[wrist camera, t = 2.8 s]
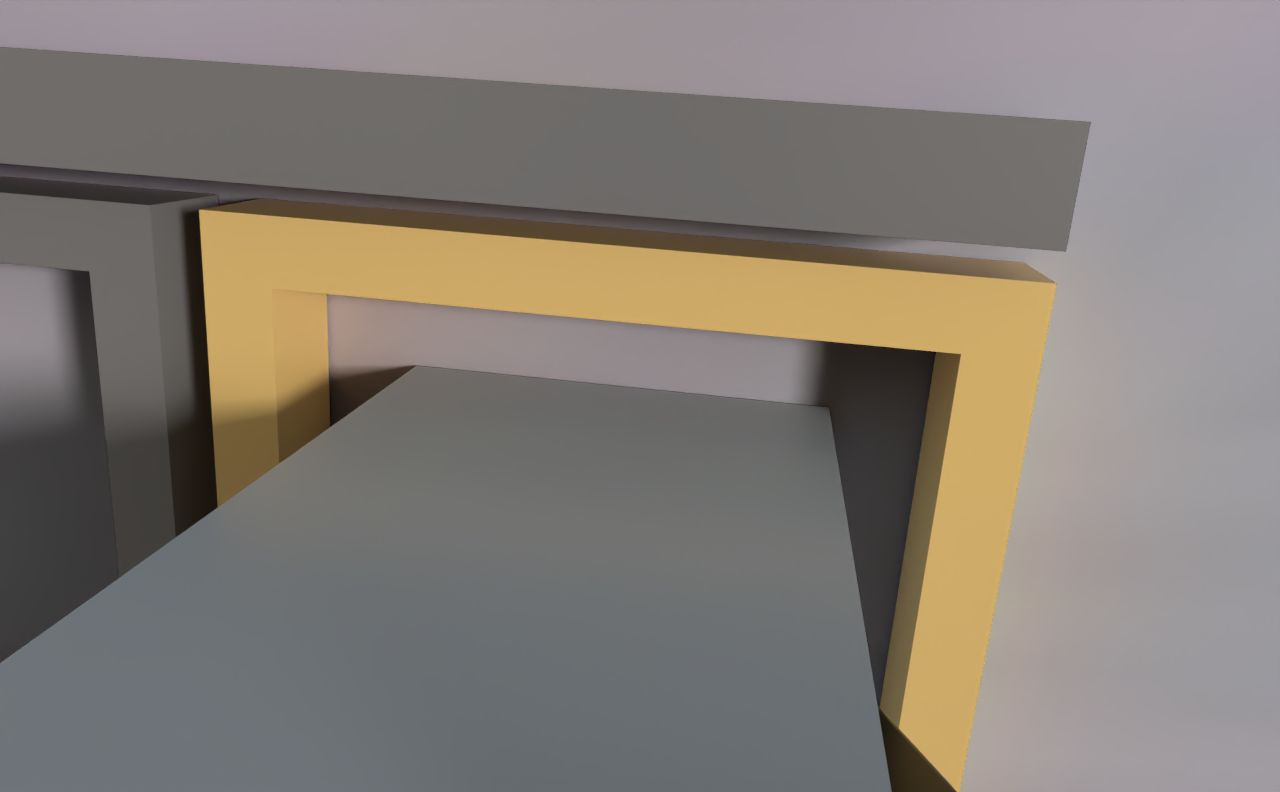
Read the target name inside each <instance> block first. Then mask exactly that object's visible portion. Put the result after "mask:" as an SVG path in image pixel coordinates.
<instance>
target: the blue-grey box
mask: <svg viewBox="0 0 1280 792" xmlns="http://www.w3.org/2000/svg"><path fill="white" fill-rule="evenodd" d="M0 792H892V791H891V785H890V779H889V773H888V766H887V760H886V754H885V748H884V742H883V736H882V730H881V724H880V717H879V711H878V705H877V699H876V693H875V687H874V681H873V675H872V669H871V662H870V656H869V650H868V644H867V638H866V632H865V626H864V620H863V613H862V607H861V601H860V595H859V589H858V583H857V577H856V571H855V564H854V558H853V552H852V546H851V540H850V534H849V528H848V522H847V515H846V509H845V503H844V497H843V491H842V485H841V479H840V473H839V467H838V460H837V454H836V448H835V442H834V436H833V430H832V424H831V418H830V411H829V408H828V407H818V406H808V405H798V404H788V403H779V402H769V401H759V400H749V399H739V398H729V397H720V396H710V395H700V394H690V393H680V392H670V391H661V390H651V389H641V388H631V387H621V386H611V385H602V384H592V383H582V382H572V381H562V380H552V379H543V378H533V377H523V376H513V375H503V374H493V373H484V372H474V371H464V370H454V369H444V368H435V367H425V366H415V367H414V368H412V369H411V370H410V371H408V372H407V373H405V374H404V375H403V376H401V377H400V378H398V379H397V380H396V381H394V382H393V383H391V384H390V385H389V386H387V387H386V388H384V389H383V390H382V391H380V392H379V393H377V394H376V395H375V396H373V397H372V398H370V399H369V400H368V401H366V402H365V403H363V404H362V405H361V406H359V407H358V408H356V409H355V410H354V411H352V412H351V413H349V414H348V415H347V416H345V417H344V418H342V419H341V420H340V421H338V422H337V423H335V424H334V425H333V426H331V427H330V428H328V429H327V430H326V431H324V432H323V433H321V434H320V435H319V436H317V437H316V438H314V439H313V440H312V441H310V442H309V443H307V444H306V445H305V446H303V447H302V448H300V449H299V450H298V451H296V452H295V453H293V454H292V455H291V456H289V457H288V458H286V459H285V460H284V461H282V462H281V463H279V464H278V465H277V466H275V467H274V468H272V469H271V470H270V471H268V472H267V473H265V474H264V475H263V476H261V477H260V478H258V479H257V480H256V481H254V482H253V483H251V484H250V485H249V486H247V487H246V488H244V489H243V490H242V491H240V492H239V493H237V494H236V495H235V496H233V497H232V498H230V499H229V500H228V501H226V502H225V503H223V504H222V505H221V506H219V507H218V508H216V509H215V510H214V511H212V512H211V513H209V514H208V515H207V516H205V517H204V518H202V519H201V520H200V521H198V522H197V523H195V524H194V525H193V526H191V527H190V528H188V529H187V530H186V531H184V532H183V533H181V534H180V535H179V536H177V537H176V538H174V539H173V540H172V541H170V542H169V543H167V544H166V545H165V546H163V547H162V548H160V549H159V550H158V551H156V552H155V553H153V554H152V555H151V556H149V557H148V558H146V559H145V560H144V561H142V562H141V563H139V564H138V565H137V566H135V567H134V568H132V569H131V570H130V571H128V572H127V573H125V574H124V575H123V576H121V577H120V578H118V579H117V580H116V581H114V582H113V583H111V584H110V585H109V586H107V587H106V588H104V589H103V590H102V591H100V592H99V593H97V594H96V595H95V596H93V597H92V598H90V599H89V600H88V601H86V602H85V603H83V604H82V605H81V606H79V607H78V608H76V609H75V610H74V611H72V612H71V613H69V614H68V615H67V616H65V617H64V618H62V619H61V620H60V621H58V622H57V623H55V624H54V625H53V626H51V627H50V628H48V629H47V630H46V631H44V632H43V633H41V634H40V635H39V636H37V637H36V638H34V639H33V640H32V641H30V642H29V643H27V644H26V645H25V646H23V647H22V648H20V649H19V650H18V651H16V652H15V653H13V654H12V655H11V656H9V657H8V658H6V659H5V660H4V661H2V662H1V663H0Z"/></svg>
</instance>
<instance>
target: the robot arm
mask: <svg viewBox="0 0 1280 792" xmlns="http://www.w3.org/2000/svg"><path fill="white" fill-rule="evenodd" d="M878 711H879V717H880V724H881V730H882V736H883V742H884V748H885V754H886V760H887V766H888V773H889V779H890V785H891V791H892V792H957V791H956V790H955V789H954V788H953V787H952V786H951V784H950V783H949V782H948V781H947V780H946V779H945V778H944V777H943V776H942V775H941V774H940V772H939V771H938V770H937V769H936V768H935V767H934V766H933V765H932V764H931V763H930V762H929V760H928V759H927V758H926V757H925V756H924V755H923V754H922V753H921V752H920V751H919V750H918V749H917V747H916V746H915V745H914V744H913V743H912V742H911V741H910V740H909V739H908V738H907V737H906V735H905V734H904V733H903V732H902V731H901V730H900V729H899V728H898V727H897V726H896V725H895V723H894V722H893V721H892V720H891V719H890V718H889V717H888V716H887V715H886V714H885V713H884V711H883V710H882V709H881V708H880V707H879V706H878Z"/></svg>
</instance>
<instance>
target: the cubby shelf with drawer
mask: <svg viewBox="0 0 1280 792" xmlns="http://www.w3.org/2000/svg"><path fill="white" fill-rule="evenodd" d="M1090 124H1091V122H1085V121H1071V120H1056V119H1042V118H1027V117H1013V116H998V115H983V114H969V113H954V112H940V111H925V110H911V109H896V108H881V107H867V106H852V105H838V104H823V103H809V102H794V101H779V100H765V99H750V98H736V97H721V96H707V95H692V94H677V93H663V92H648V91H634V90H619V89H605V88H590V87H576V86H561V85H546V84H532V83H517V82H503V81H488V80H474V79H459V78H444V77H430V76H415V75H401V74H386V73H372V72H357V71H342V70H328V69H313V68H299V67H284V66H270V65H255V64H240V63H226V62H211V61H197V60H182V59H168V58H153V57H139V56H124V55H109V54H95V53H80V52H66V51H51V50H37V49H22V48H7V47H0V163H3V164H15V165H27V166H39V167H51V168H63V169H75V170H87V171H99V172H111V173H123V174H135V175H147V176H160V177H172V178H184V179H196V180H208V181H220V182H232V183H244V184H256V185H268V186H280V187H292V188H304V189H316V190H329V191H341V192H353V193H365V194H377V195H389V196H401V197H413V198H425V199H437V200H449V201H461V202H473V203H486V204H498V205H510V206H522V207H534V208H546V209H558V210H570V211H582V212H594V213H606V214H618V215H630V216H642V217H655V218H667V219H679V220H691V221H703V222H715V223H727V224H739V225H751V226H763V227H775V228H787V229H799V230H811V231H824V232H836V233H848V234H860V235H872V236H884V237H896V238H908V239H920V240H932V241H944V242H956V243H968V244H981V245H993V246H1005V247H1017V248H1029V249H1041V250H1053V251H1065V252H1066V249H1067V244H1068V238H1069V233H1070V228H1071V223H1072V218H1073V212H1074V207H1075V202H1076V197H1077V192H1078V186H1079V181H1080V176H1081V171H1082V166H1083V160H1084V155H1085V150H1086V145H1087V139H1088V134H1089V129H1090ZM0 263H7V264H17V265H28V266H38V267H49V268H60V269H70V270H81V271H89V273H90V283H91V294H92V304H93V314H94V325H95V335H96V345H97V356H98V366H99V376H100V387H101V397H102V407H103V418H104V428H105V438H106V449H107V459H108V469H109V480H110V490H111V500H112V511H113V521H114V531H115V542H116V552H117V562H118V573H119V578H120V577H121V576H123V575H124V574H125V573H127V572H128V571H130V570H131V569H132V568H134V567H135V566H137V565H138V564H139V563H141V562H142V561H144V560H145V559H146V558H148V557H149V556H151V555H152V554H153V553H155V552H156V551H158V550H159V549H160V548H162V547H163V546H165V545H166V544H167V543H169V542H170V541H172V540H173V539H174V538H176V537H177V536H179V535H180V534H181V533H183V532H184V531H186V530H187V529H188V528H190V527H191V526H193V525H194V524H195V523H197V522H198V521H200V520H201V519H202V518H204V517H205V516H207V515H208V514H209V513H211V512H212V511H214V510H215V509H216V508H218V507H219V506H221V505H222V504H223V503H225V502H226V501H228V500H229V499H230V498H232V497H233V496H235V495H236V494H237V493H239V492H240V491H242V490H243V489H244V488H246V487H247V486H249V485H250V484H251V483H253V482H254V481H256V480H257V479H258V478H260V477H261V476H263V475H264V474H265V473H267V472H268V471H270V470H271V469H272V468H274V467H275V466H277V465H278V464H279V463H281V462H282V461H284V460H285V459H286V458H288V457H289V456H291V455H292V454H293V453H295V452H296V451H298V450H299V449H300V448H302V447H303V446H305V445H306V444H307V443H309V442H310V441H312V440H313V439H314V438H316V437H317V436H319V435H320V434H321V433H323V432H324V431H326V430H327V429H328V428H330V399H329V361H328V324H327V294H333V295H344V296H354V297H365V298H375V299H386V300H397V301H407V302H418V303H428V304H439V305H449V306H460V307H470V308H481V309H491V310H502V311H512V312H523V313H533V314H544V315H554V316H565V317H576V318H586V319H597V320H607V321H618V322H628V323H639V324H649V325H660V326H670V327H681V328H691V329H702V330H712V331H723V332H734V333H744V334H755V335H765V336H776V337H786V338H797V339H807V340H818V341H828V342H839V343H849V344H860V345H870V346H881V347H891V348H902V349H913V350H923V351H934V352H936V355H935V362H934V368H933V374H932V381H931V387H930V393H929V400H928V406H927V412H926V419H925V425H924V431H923V437H922V444H921V450H920V456H919V463H918V469H917V475H916V482H915V488H914V494H913V501H912V507H911V513H910V519H909V526H908V532H907V538H906V545H905V551H904V557H903V564H902V570H901V576H900V583H899V589H898V595H897V601H896V608H895V614H894V620H893V627H892V633H891V639H890V646H889V652H888V658H887V665H886V671H885V677H884V683H883V690H882V696H881V702H880V708H881V709H882V710H883V711H884V713H885V714H886V715H887V716H888V717H889V718H890V719H891V720H892V721H893V722H894V723H895V725H896V726H897V727H898V728H899V729H900V730H901V731H902V732H903V733H904V734H905V735H906V737H907V738H908V739H909V740H910V741H911V742H912V743H913V744H914V745H915V746H916V747H917V749H918V750H919V751H920V752H921V753H922V754H923V755H924V756H925V757H926V758H927V759H928V760H929V762H930V763H931V764H932V765H933V766H934V767H935V768H936V769H937V770H938V771H939V772H940V774H941V775H942V776H943V777H944V778H945V779H946V780H947V781H948V782H949V783H950V784H951V786H952V787H953V788H954V789H955V790H956V791H957V792H960V788H961V783H962V778H963V772H964V767H965V762H966V757H967V751H968V746H969V741H970V736H971V731H972V725H973V720H974V715H975V710H976V704H977V699H978V694H979V689H980V683H981V678H982V673H983V668H984V663H985V657H986V652H987V647H988V642H989V636H990V631H991V626H992V621H993V616H994V610H995V605H996V600H997V595H998V589H999V584H1000V579H1001V574H1002V568H1003V563H1004V558H1005V553H1006V548H1007V542H1008V537H1009V532H1010V527H1011V521H1012V516H1013V511H1014V506H1015V501H1016V495H1017V490H1018V485H1019V480H1020V474H1021V469H1022V464H1023V459H1024V454H1025V448H1026V443H1027V438H1028V433H1029V427H1030V422H1031V417H1032V412H1033V406H1034V401H1035V396H1036V391H1037V386H1038V380H1039V375H1040V370H1041V365H1042V359H1043V354H1044V349H1045V344H1046V339H1047V333H1048V328H1049V323H1050V318H1051V312H1052V307H1053V302H1054V297H1055V291H1056V286H1057V283H1055V282H1054V281H1052V280H1050V279H1049V278H1047V277H1046V276H1044V275H1043V274H1041V273H1039V272H1038V271H1036V270H1035V269H1033V268H1032V267H1030V266H1028V265H1027V264H1025V263H1021V262H1009V261H997V260H985V259H973V258H961V257H950V256H938V255H926V254H914V253H902V252H890V251H878V250H867V249H855V248H843V247H831V246H819V245H807V244H796V243H784V242H772V241H760V240H748V239H736V238H724V237H713V236H701V235H689V234H677V233H665V232H653V231H642V230H630V229H618V228H606V227H594V226H582V225H570V224H559V223H547V222H535V221H523V220H511V219H499V218H488V217H476V216H464V215H452V214H440V213H428V212H416V211H405V210H393V209H381V208H369V207H357V206H345V205H334V204H322V203H310V202H298V201H286V200H274V199H263V198H262V199H256V200H250V201H245V202H239V203H233V204H228V205H222V206H218V195H215V194H203V193H191V192H180V191H168V190H156V189H144V188H132V187H120V186H108V185H97V184H85V183H73V182H61V181H49V180H37V179H26V178H14V177H2V176H0Z"/></svg>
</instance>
